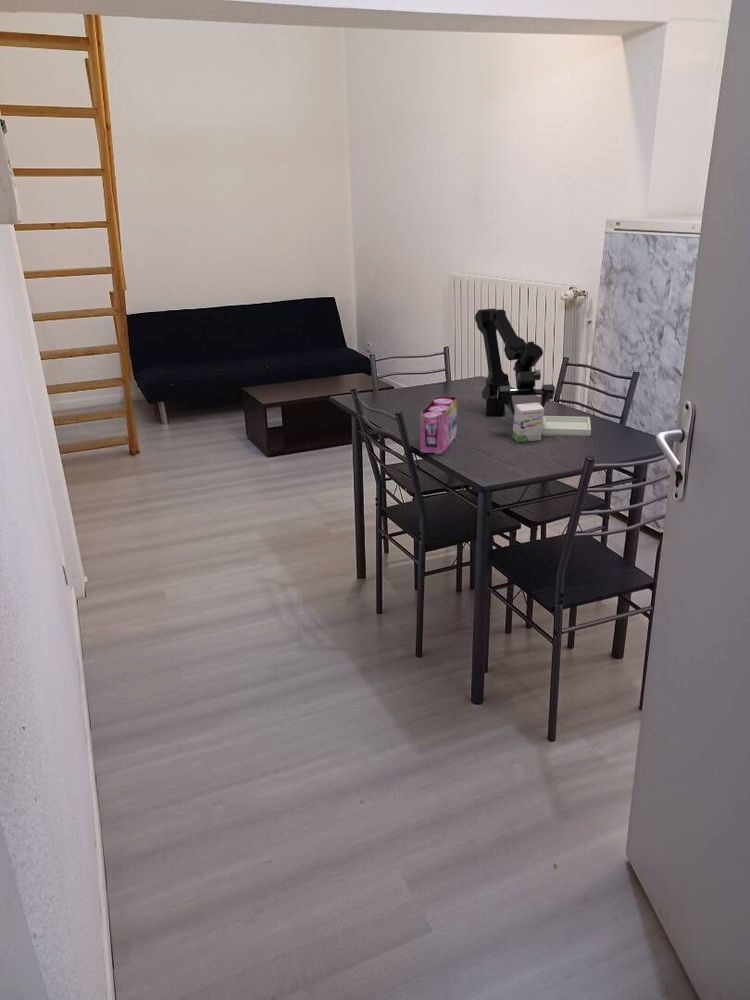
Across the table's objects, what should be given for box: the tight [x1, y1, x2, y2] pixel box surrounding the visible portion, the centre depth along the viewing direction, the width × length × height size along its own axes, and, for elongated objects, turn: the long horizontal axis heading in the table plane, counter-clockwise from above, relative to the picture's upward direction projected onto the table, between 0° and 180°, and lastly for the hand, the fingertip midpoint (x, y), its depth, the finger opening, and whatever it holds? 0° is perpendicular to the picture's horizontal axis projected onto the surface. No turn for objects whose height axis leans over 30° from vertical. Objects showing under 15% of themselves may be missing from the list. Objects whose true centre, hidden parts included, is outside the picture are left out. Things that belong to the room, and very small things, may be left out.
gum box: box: [419, 396, 458, 453], centre depth 251 cm, size 24×8×14 cm, turn 163°
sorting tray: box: [541, 415, 592, 438], centre depth 263 cm, size 16×16×2 cm
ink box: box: [512, 402, 545, 443], centre depth 251 cm, size 8×5×12 cm, turn 102°
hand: (527, 414), depth 251 cm, fingers open, 9 cm apart
